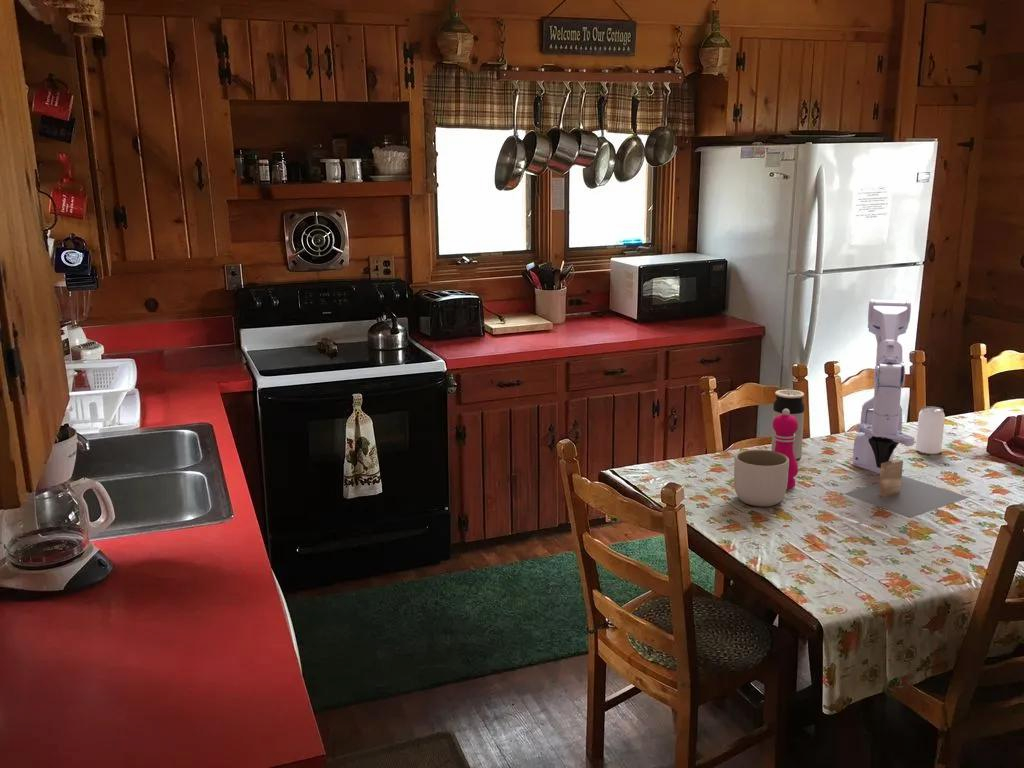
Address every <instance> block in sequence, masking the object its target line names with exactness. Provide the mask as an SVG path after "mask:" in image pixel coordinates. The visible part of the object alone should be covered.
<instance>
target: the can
mask: <svg viewBox="0 0 1024 768" xmlns="http://www.w3.org/2000/svg"><path fill="white" fill-rule="evenodd" d="M944 411H945V410H944V409H943V408H942V407H937V406H922V407H921V408H920V411H919V413H918V417H917V419H918V421H917V428H916V440H915V441H916V442H915V450H916V451H917V452H918V451H919V453H920V454H924V453H926V454H925V455H938V454H940V453H941V452H942V450H943V449H942V448H943V440H944V427H945V419H946V417H945V416H946V415H945V413H944Z"/></svg>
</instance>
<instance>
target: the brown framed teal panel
mask: <svg viewBox="0 0 1024 768" xmlns="http://www.w3.org/2000/svg"><path fill="white" fill-rule="evenodd" d="M903 465H904V460H903V459H899V458H895V459H894V458H893V460H891V461H888V462H884V463H881V471H880V473H879V482H878V483H879V495H880V496H883V497H886V496H889V495H892V494H895V493H898V492H900V490H901V479H902V476H903Z"/></svg>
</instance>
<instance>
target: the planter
mask: <svg viewBox="0 0 1024 768" xmlns="http://www.w3.org/2000/svg"><path fill="white" fill-rule="evenodd" d="M733 463H734V466H733V468H734V469H733V470H734V471H733V486H734V490H735V494H736V496H737V498H738V499H739V500H740V501H742V502H743V503H745V504H746V505H749V506H753V507H762V508H763V507H765V508H766V507H772V506H776V505H777V504H779V503H780V502H782V501H783V500H784V497H785V495H786V494H787V489H788V488H787V482H788V469H789V458H788V457H787V456H786V455H784V454H781V453H779V452H775V451H771V449H770V450H768V449H759V448H758V449H746V450H745V449H744V450H741V451H739V452H736V454H734V462H733Z"/></svg>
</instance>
